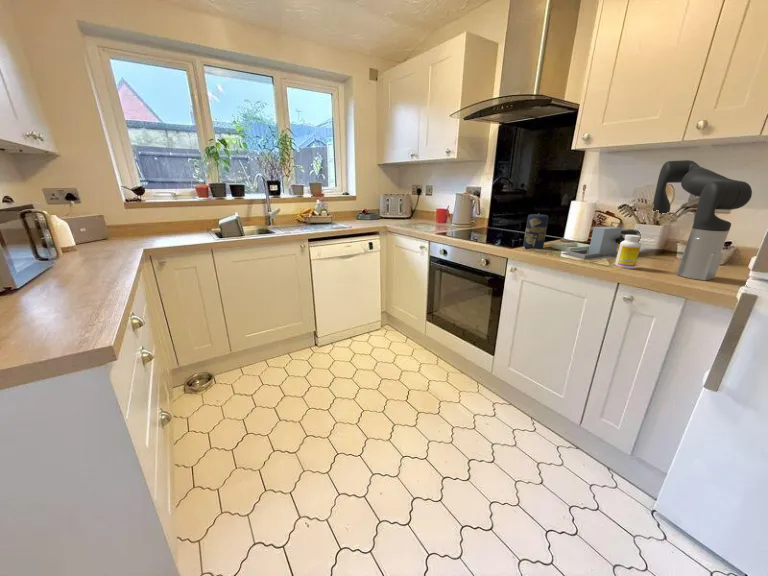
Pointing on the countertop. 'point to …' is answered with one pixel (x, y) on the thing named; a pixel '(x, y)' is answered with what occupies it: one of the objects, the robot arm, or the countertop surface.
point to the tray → (566, 245)
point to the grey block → (605, 239)
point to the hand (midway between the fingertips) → (607, 239)
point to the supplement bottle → (628, 252)
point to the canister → (535, 231)
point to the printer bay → (588, 255)
